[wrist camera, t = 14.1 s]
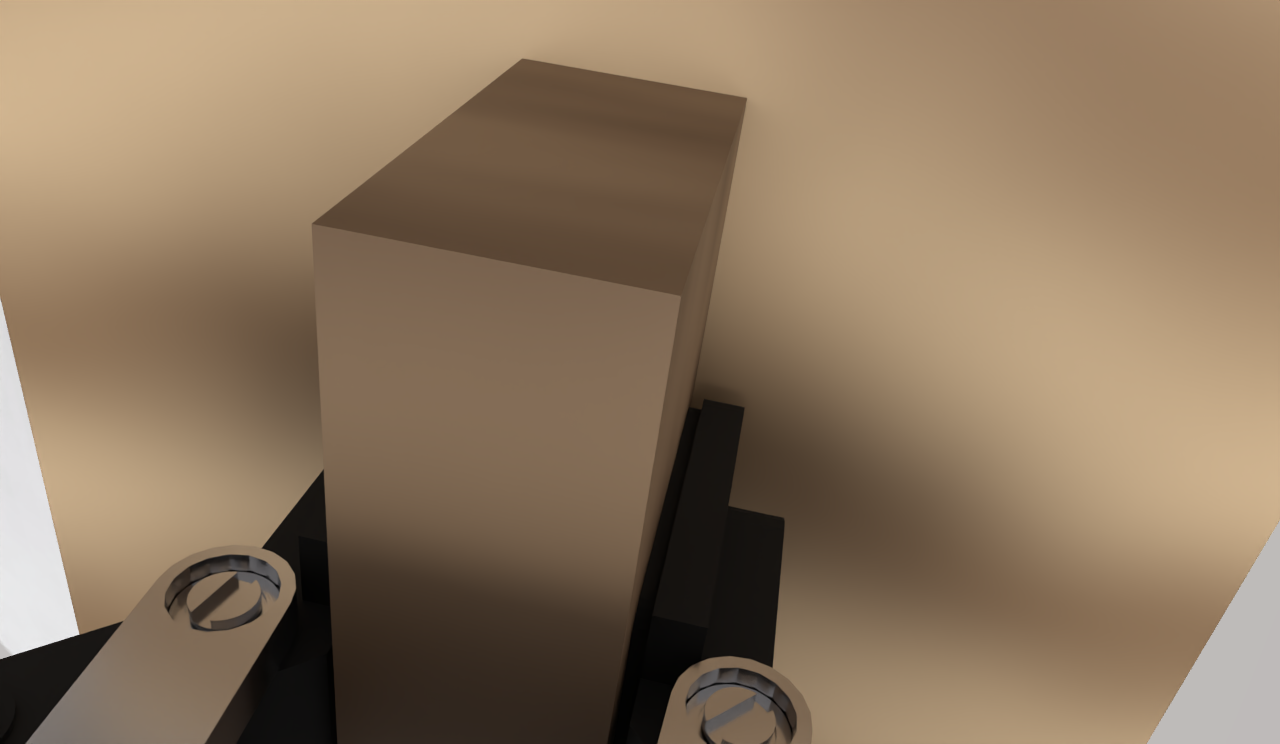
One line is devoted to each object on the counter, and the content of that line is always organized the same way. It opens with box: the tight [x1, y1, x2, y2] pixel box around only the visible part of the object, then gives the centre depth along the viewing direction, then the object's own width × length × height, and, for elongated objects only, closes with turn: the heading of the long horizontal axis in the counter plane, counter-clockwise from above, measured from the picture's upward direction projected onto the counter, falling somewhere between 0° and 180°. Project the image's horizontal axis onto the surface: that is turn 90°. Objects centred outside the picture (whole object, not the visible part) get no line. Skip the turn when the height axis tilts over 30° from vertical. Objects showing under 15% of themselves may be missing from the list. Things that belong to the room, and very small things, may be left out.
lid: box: [0, 0, 1280, 744], centre depth 12 cm, size 23×17×6 cm
